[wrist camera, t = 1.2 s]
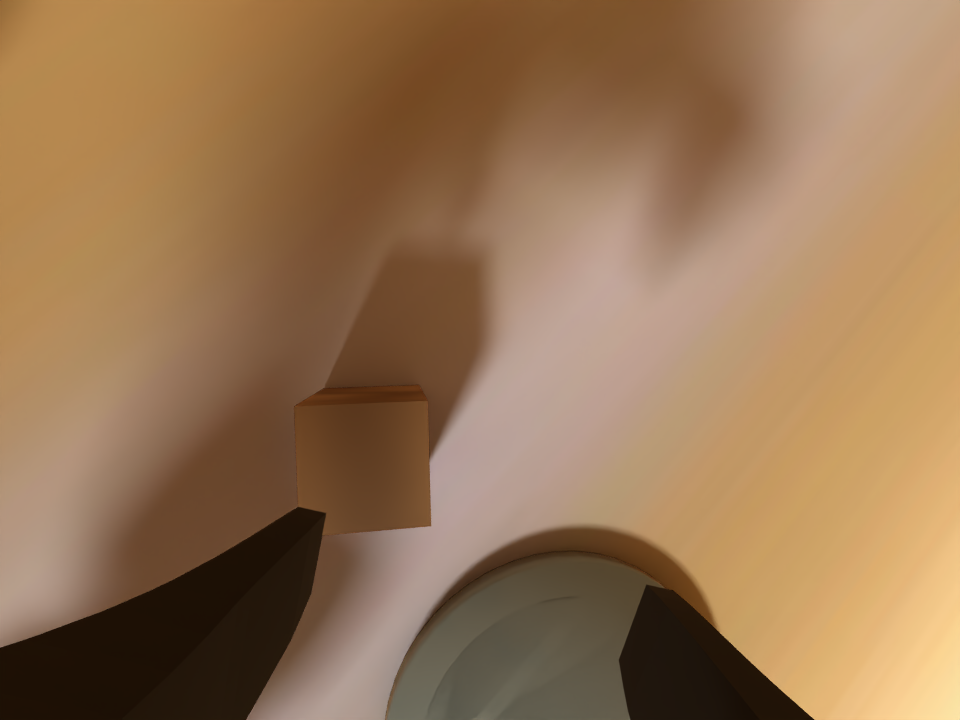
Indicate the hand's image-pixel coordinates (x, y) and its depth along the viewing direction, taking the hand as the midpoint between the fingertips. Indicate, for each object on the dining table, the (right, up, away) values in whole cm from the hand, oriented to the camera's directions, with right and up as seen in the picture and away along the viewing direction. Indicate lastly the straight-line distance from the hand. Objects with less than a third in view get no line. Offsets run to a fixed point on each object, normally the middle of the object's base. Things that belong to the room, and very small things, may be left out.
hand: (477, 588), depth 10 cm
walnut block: (-5, +2, +10) cm, 11 cm away
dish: (+4, -12, +12) cm, 17 cm away
